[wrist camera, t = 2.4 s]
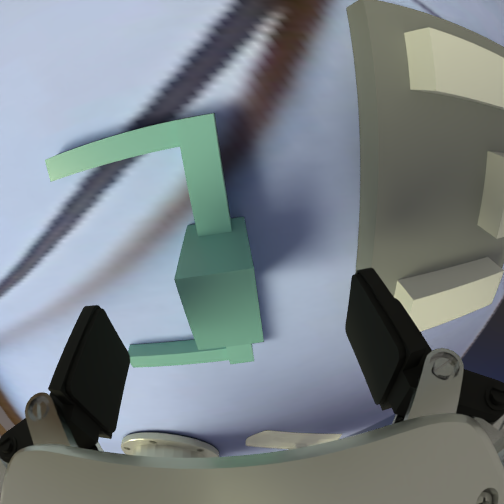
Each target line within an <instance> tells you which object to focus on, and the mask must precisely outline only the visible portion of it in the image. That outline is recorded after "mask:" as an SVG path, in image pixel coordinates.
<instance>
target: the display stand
mask: <svg viewBox="0 0 504 504" xmlns="http://www.w3.org/2000/svg"><path fill="white" fill-rule="evenodd" d="M346 9H347V15H348V20H349V27H350V33H351V40H352V47H353V54H354V63H355V72H356V82H357V94H358V108H359V126H360V216H359V235H358V250H357V262H356V272H357V270H360V269H365V268H373V269H374V270H375V271H376V273H377V274H378V275H379V277H380V278H381V280H382V281H383V282H384V284H385V285H386V287H387V288H388V290H389V291H390V292H391V294H392V295H393V297H394V298H396V299H398V300H399V301H400V302H401V304H402V305H403V307H404V308H405V310H406V311H407V313H408V314H409V316H410V317H411V319H412V320H413V322H414V323H415V325H416V326H417V328H418V329H419V331H420V332H421V331H423V330H426V329H429V328H432V327H435V326H438V325H440V324H443V323H446V322H448V321H451V320H454V319H456V318H459V317H461V316H464V315H466V314H469V313H471V312H473V311H476V310H478V309H480V308H483V307H485V306H487V305H490V304H492V301H493V299H494V296H495V294H496V291H497V289H498V286H499V283H500V281H501V278H502V275H503V272H504V270H503V269H502V266H503V263H504V47H503V46H501V45H499V44H497V43H495V42H493V41H491V40H489V39H488V38H486V37H483V36H481V35H479V34H477V33H475V32H473V31H471V30H468V29H466V28H464V27H462V26H459V25H457V24H454V23H452V22H449V21H447V20H444V19H441V18H438V17H436V16H433V15H430V14H427V13H424V12H421V11H417V10H414V9H411V8H407V7H403V6H400V5H396V4H392V3H387V2H383V1H378V0H358V1H356V2H355V3H353V4H352V5H350V6H348V7H347V8H346ZM355 274H356V273H355Z"/></svg>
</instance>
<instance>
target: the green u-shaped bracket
mask: <svg viewBox="0 0 504 504" xmlns="http://www.w3.org/2000/svg"><path fill="white" fill-rule="evenodd" d="M179 146H180V148H181V154H182V159H183V165H184V170H185V175H186V181H187V186H188V191H189V196H190V201H191V205H192V210H193V215H194V220H195V224H193V225H187V229H186V233H185V237H184V241H183V245H182V249H181V253H180V257H179V262H178V266H177V270H176V275H175V279H174V280H175V283H176V286H177V289H178V292H179V296H180V299H181V302H182V305H183V308H184V311H185V314H186V316H187V319H188V322H189V325H190V328H191V331H192V334H193V336H194V340H185V341H174V342H163V343H150V344H135V345H130V347H129V350H128V353H129V355H130V363H131V365H132V366H133V367H155V366H172V365H185V364H196V363H207V362H216V361H225V360H229V361H230V364H237V363H244V362H251V361H254V356H253V349H252V343H259V342H264V340H263V333H262V325H261V318H260V310H259V303H258V295H257V288H256V281H255V273H254V266H253V261H252V256H251V251H250V246H249V240H248V235H247V230H246V225H245V220H244V217H238V218H230V212H229V206H228V199H227V193H226V186H225V180H224V173H223V167H222V160H221V154H220V147H219V140H218V134H217V127H216V120H215V113H211V114H205V115H199V116H194V117H188V118H183V119H178V120H173V121H169V122H164V123H160V124H156V125H151V126H147V127H143V128H139V129H135V130H132V131H128V132H124V133H121V134H117V135H114V136H111V137H107V138H104V139H101V140H98V141H95V142H92V143H89V144H86V145H83V146H80V147H77V148H74V149H71V150H69V151H66V152H63V153H61V154H58V155H56V156H53V157H51V158H49V159H46V160H45V162H46V166H47V170H48V173H49V177H50V181H51V182H52V181H54V180H57V179H60V178H63V177H66V176H69V175H72V174H75V173H78V172H81V171H84V170H88V169H91V168H94V167H98V166H101V165H104V164H108V163H112V162H115V161H119V160H123V159H127V158H130V157H134V156H139V155H143V154H147V153H151V152H156V151H160V150H165V149H169V148H174V147H179Z"/></svg>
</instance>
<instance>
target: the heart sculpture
mask: <svg viewBox="0 0 504 504" xmlns="http://www.w3.org/2000/svg"><path fill="white" fill-rule="evenodd" d="M341 435H342V434H312V433H292V432H279V431H269V430H266V431H263V432H260V433H257V434H255V435H252V436H250V437H248V438H247V440H246V446H253V447H264V448H280V449H288V450H290V449H296V448H302V447H307V446H312V445H317V444H321V443H326V442H330V441H334V440H338V439H339V438H340V437H341Z"/></svg>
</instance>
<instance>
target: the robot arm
mask: <svg viewBox="0 0 504 504" xmlns="http://www.w3.org/2000/svg"><path fill="white" fill-rule="evenodd" d="M346 334H347V337H348V339H349V341H350V343H351V346H352V348H353V350H354V353H355V355H356V358H357V360H358V362H359V365H360V367H361V369H362V372H363V374H364V377H365V379H366V382H367V384H368V387H369V389H370V392H371V394H372V397H373V399H374V402H375V403H376V404H377V405H378V404H380V406H381V408H382V411H383V410H386V409H389V408H392V409H393V411H394V413H395V414H396V415H395V418H394V420H393V423H392V425H388V426H385V427H382V428H378V429H375V430H372V431H368V432H365V433H361V434H358V435H354V436H350V437H346V438H342V439H338V440H334V441H330V442H326V443H321V444H317V445H312V446H307V447H302V448H296V449H290V450H284V451H277V452H270V453H262V454H253V455H243V456H230V457H219V452H218V450H217V449H216V448H214V447H213V446H212V445H210V444H208V443H205V442H203V441H200V440H197V439H193V438H190V437H185V436H180V435H174V434H167V433H154V432H142V433H133V434H130V435H127V436H126V437H124V438H123V439H122V443H121V448H122V450H123V452H124V453H125V454H118V453H110V452H104V451H103V449H102V448H101V446H100V444H99V442H98V438H99V437H102V438H110V439H111V438H112V432H114V431H115V430H116V426H117V420H118V415H119V410H120V405H121V400H122V395H123V390H124V386H125V381H126V377H127V373H128V368H129V364H130V355H129V353H128V351H127V349H126V348H125V346H124V344H123V343H122V341H121V339H120V338H119V336H118V334H117V332H116V331H115V329H114V327H113V325H112V323H111V322H110V320H109V318H108V316H107V314H106V312H105V311H104V309H101V308H100V307H99V306H98V305H94V306H85V307H84V308H83V310H82V312H81V314H80V316H79V318H78V320H77V322H76V324H75V326H74V328H73V331H72V333H71V335H70V337H69V339H68V342H67V344H66V346H65V348H64V351H63V353H62V355H61V358H60V360H59V362H58V365H57V367H56V370H55V372H54V375H53V378H52V380H51V383H50V385H49V388H48V389H49V390H50V391H51V393H50V396H49V395H48V394H47V393H37V394H35V395H34V396H32V397H31V398H30V400H29V401H28V403H27V405H26V408H25V416H26V418H25V419H24V420H22V421H21V422H20V423H18V424H17V425H15V426H14V427H13V428H11V429H10V430H8V431H7V432H6V433H4V434H3V435H2V436H1V438H0V504H504V383H502V382H500V381H498V380H495V379H492V378H489V377H485V376H483V375H480V374H477V373H474V372H471V371H468V370H465V369H464V368H463V362H462V360H461V358H460V357H459V356H458V355H457V354H456V353H455V352H454V351H451V350H449V349H445V348H439V349H435V350H433V351H432V350H431V348H430V347H429V345H428V344H427V342H426V340H425V339H424V337H423V336H422V334H421V332H420V331H419V329H418V328H417V326H416V325H415V323H414V322H413V320H412V319H411V317H410V316H409V314H408V313H407V311H406V310H405V308H404V307H403V305H402V304H401V302H400V301H399V300H398V299H396V298H394V297H393V295H392V294H391V292H390V291H389V290H388V288H387V287H386V285H385V284H384V282H383V281H382V280H381V278H380V277H379V275H378V274H377V273H376V271H375V270H374V269H373V268H365V269H360V270H357V272H356V274H355V275H353V276H352V280H351V289H350V297H349V305H348V312H347V319H346Z"/></svg>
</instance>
